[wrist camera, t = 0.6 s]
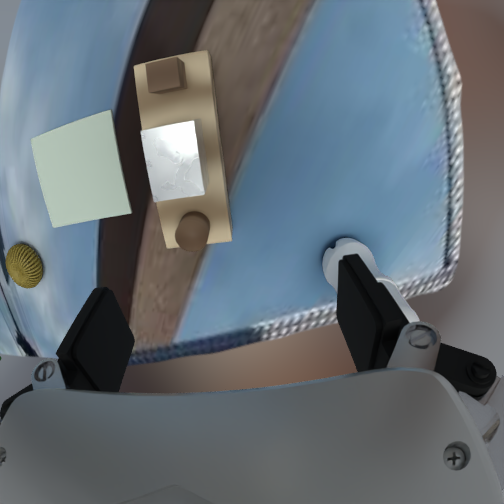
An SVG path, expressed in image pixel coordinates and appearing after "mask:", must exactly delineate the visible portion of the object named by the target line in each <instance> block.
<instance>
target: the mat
mask: <svg viewBox="0 0 504 504" xmlns="http://www.w3.org/2000/svg"><path fill="white" fill-rule="evenodd" d="M31 144H32V150H33V155H34V159H35V164H36V168H37V173H38V177H39V181H40V185H41V188H42V192H43V196H44V199H45V203H46V206H47V209H48V213H49V216H50V219H51V222H52V225H53V228H56V227H60V226H65V225H70V224H75V223H80V222H85V221H91V220H96V219H101V218H107V217H112V216H118V215H124V214H130V213H132V209H131V205H130V200H129V196H128V192H127V188H126V183H125V179H124V174H123V169H122V165H121V160H120V154H119V149H118V144H117V138H116V133H115V127H114V120H113V114H112V110H108V111H104V112H101V113H98V114H95V115H92V116H89V117H86V118H83V119H80V120H77V121H75V122H72V123H69V124H67V125H64V126H61V127H59V128H56V129H54V130H51V131H49V132H46V133H44V134H42V135H39V136H37V137H35V138H33V139H31Z"/></svg>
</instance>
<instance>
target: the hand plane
mask: <svg viewBox="0 0 504 504" xmlns="http://www.w3.org/2000/svg"><path fill="white" fill-rule="evenodd" d="M134 72H135V81H136V89H137V97H138V104H139V111H140V118H141V125H142V131H143V130H146V129H149V128H153V127H157V126H162V125H167V124H172V123H177V122H183V121H188V120H194V119H201V123H202V131H203V138H204V145H205V153H206V160H207V167H208V173H209V180H210V182H209V184H208V187H207V190H206V192H205V195H199V196H192V197H185V198H178V199H171V200H164V201H158V202H156V204H157V209H158V213H159V217H160V222H161V226H162V230H163V234H164V238H165V242H166V246H167V248H176V247H181V248H182V249H184V250H186V251H189V252H195V251H199V250H201V249H202V248H204V247H205V245H206V244H211V243H220V242H229V241H232V220H231V213H230V206H229V198H228V191H227V183H226V176H225V168H224V160H223V152H222V145H221V137H220V129H219V120H218V112H217V104H216V96H215V87H214V78H213V70H212V61H211V55H210V54H209V52H208V50H205V51H199V52H193V53H187V54H182V55H177V56H172V57H168V58H163V59H159V60H155V61H151V62H147V63H143V64H139V65H136V66H134Z"/></svg>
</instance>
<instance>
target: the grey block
mask: <svg viewBox="0 0 504 504" xmlns="http://www.w3.org/2000/svg"><path fill="white" fill-rule="evenodd" d="M141 137H142V143H143V149H144V155H145V160H146V165H147V170H148V175H149V180H150V185H151V190H152V195H153V199H154V202H158V201H164V200H171V199H178V198H185V197H192V196H199V195H205V192H206V190H207V187H208V184H209V182H210V180H209V173H208V167H207V160H206V153H205V145H204V138H203V131H202V123H201V119H194V120H188V121H183V122H177V123H172V124H167V125H162V126H157V127H153V128H149V129H146V130H143V131H141Z"/></svg>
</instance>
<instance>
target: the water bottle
mask: <svg viewBox="0 0 504 504" xmlns="http://www.w3.org/2000/svg"><path fill="white" fill-rule="evenodd" d="M356 253H357V254H358V255H359V256H360V257H361V259H362V260H363V261H364V263H365V264H366V266H367V267H368V269H369V270H370V271H371V273H372V274H373V276H374V277H375V279H376V280H377V282H382V283H383V284H384V285H385V287H386V288H387V289H388V291H389V292H390V294H391V295H392V297H393V298H394V300H395V301H396V303H397V304H398V306H399V307H400V309H401V310H402V312H403V313H404V315H405V316H406V318H407V319H408V321H409V322H410V323H412V322H417V321H419V318H418V316H417V314H416V313H415V311H414V310H412V309H411V308H410V306H409V305H408V303H407V302H406V300H405V299H404V297H403V296H402V295H401V293H400V292H399V290H398V288H397V286H396V284H395V283H394V281H393V280H392V279H391V278H390V277H388V276H385V275H384V274H382V273H381V272H380V271H379V269H378V268H377V266H376V263H375V260H374V257H373V255H372V253H371V251H370V250H369V249H368V248H367V246H365V245H364V244H362V243H360V242H359V241H357V240H355V239H352V238H342V239H339V240H338V241H336V247H335V248H334V249H331V248H328V249H327V250H326V251H325V254H324V256H323V263H322V266H323V272H324V275H325V278H326V280H327V282H328V283H329V284H330V285H332V286H333V287H334V289H335V291H336V293H337V291H338V262H339V260H341V259H343V256H344V255H350V254H356Z"/></svg>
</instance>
